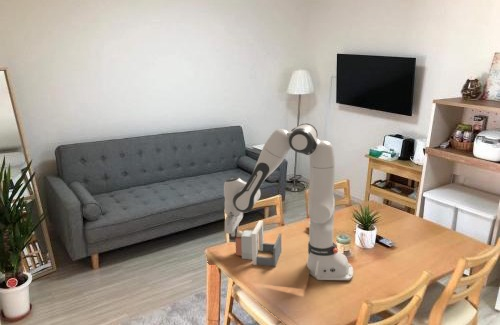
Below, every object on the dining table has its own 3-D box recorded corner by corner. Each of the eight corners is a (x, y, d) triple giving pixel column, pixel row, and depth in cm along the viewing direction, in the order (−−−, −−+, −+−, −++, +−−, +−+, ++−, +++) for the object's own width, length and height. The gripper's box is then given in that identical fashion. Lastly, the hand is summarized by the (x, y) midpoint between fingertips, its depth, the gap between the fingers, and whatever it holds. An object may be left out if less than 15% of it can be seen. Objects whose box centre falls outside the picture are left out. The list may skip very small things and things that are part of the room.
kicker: (244, 251, 200) (243, 225, 196) (242, 255, 196) (241, 229, 192) (232, 249, 202) (231, 224, 198) (229, 254, 197) (228, 228, 194)
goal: (281, 251, 201) (281, 222, 197) (275, 267, 186) (275, 235, 182) (260, 249, 204) (259, 220, 200) (252, 264, 189) (251, 233, 185)
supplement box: (255, 260, 193) (255, 237, 190) (241, 258, 195) (240, 236, 191) (258, 253, 200) (258, 230, 197) (244, 251, 202) (243, 229, 198)
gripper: (233, 217, 182) (234, 244, 186) (245, 201, 201) (245, 226, 205) (220, 216, 184) (222, 242, 187) (233, 201, 203) (234, 225, 206)
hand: (234, 234), depth 196 cm, fingers closed on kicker, 3 cm apart
